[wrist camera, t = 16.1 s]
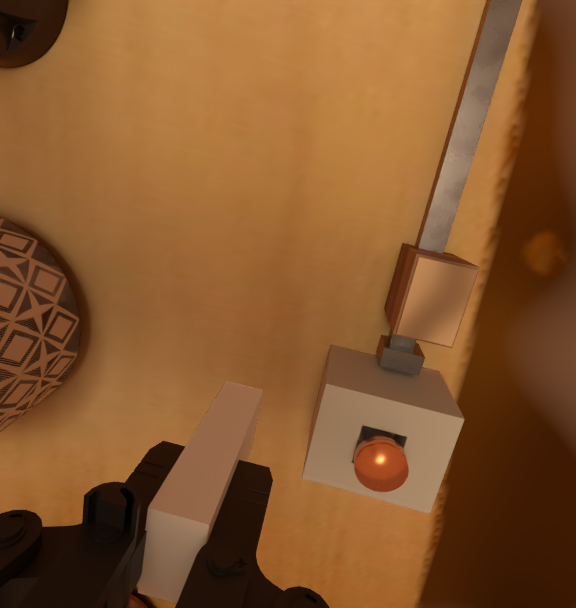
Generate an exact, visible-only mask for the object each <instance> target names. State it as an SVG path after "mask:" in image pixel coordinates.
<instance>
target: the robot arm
mask: <svg viewBox="0 0 576 608" xmlns="http://www.w3.org/2000/svg"><path fill="white" fill-rule="evenodd" d="M66 7H67V0H0V67H17V66H22V65H25V64H28V63H30V62H32V61H34V60H35V59H37V58H38V57H40V56H41V55H42V54H43V53H44V52H45V51H46V50H47V49H48V48H49V47H50V46H51V45H52V43H53V42H54V40H55V39H56V37H57V35H58V33H59V31H60V29H61V26H62V23H63V20H64V17H65V13H66ZM262 395H263V389H259V388H255V387H251V386H247V385H243V384H239V383H235V382H231V381H227V380H226V382H225V383H224V385H223V387H222V388H221V390H220V392H219V393H218V395H217V396H216V398H215V400H214V401H213V403H212V405H211V406H210V408H209V409H208V411H207V413H206V414H205V416H204V418H203V419H202V421H201V422H200V424H199V426H198V427H197V429H196V430H195V432H194V434H193V435H192V437H191V439H190V440H189V442H188V443H187V445H186V447H185V446H181V445H177V444H173V443H170V442H166V441H162V442H161V443H159V444H158V445H156V446H154V447H153V448H151V449H150V450H149V451H148V452H147V454H146V455H145V456H144V458H143V459H142V460H141V463H139V464H138V466H137V467H136V468H135V470H134V472H132V474H131V475H130V476H129V478H128V479H127V481H126V482H125V483H122V482H110V483H104V484H101V485H99V486H97V487H94V488H92V489H91V490H90V491H89V492H88V493H86V494H85V495H84V506H83V522H82V524H78V525H73V526H58V527H42V521H41V518H40V517H39V516H38V515H37V514H36V513H34V512H31V511H28V510H12V511H8V512H5V513H1V514H0V608H129V601H130V596H131V594H132V592H133V590H134V588H135V586H136V584H137V582H138V580H139V586H138V593H140V594H143V595H147V596H150V597H154V598H157V599H161V600H164V601H167V602H171V603H174V604H176V607H175V608H329V606H328V605H327V603H326V602H325V601H324V600H323V598H322V597H321V596H320V595H319V594H317V593H316V592H314V591H313V590H311V589H308V588H304V587H300V586H298V587H292V588H288V589H286V590H285V591H283V590H281V589H280V588H278V587H277V586H275V585H274V584H273V583H271V582H270V581H269V580H268V579H267V578H266V577H265V576H264V575H263V573H262V572H261V571H260V568H259V566H258V564H257V559H256V550H257V546H258V542H259V538H260V533H261V529H262V525H263V521H264V517H265V512H266V508H267V504H268V500H269V495H270V491H271V487H272V482H273V479H272V476H271V472H270V469H269V467H265V466H261V465H257V464H254V463H250V462H247V460H248V457H249V454H250V451H251V448H252V443H253V439H254V434H255V429H256V424H257V419H258V414H259V409H260V405H261V400H262Z"/></svg>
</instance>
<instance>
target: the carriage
mask: <svg viewBox="0 0 576 608" xmlns="http://www.w3.org/2000/svg"><path fill="white" fill-rule="evenodd" d="M479 268H480V267H478V266H476V265H474V264H472V263H469V262H467V261H465V260H463V259H461V258H459V257H457V256H455V255H453V254H450V253H445V252H444V253H438V252H434V251H429V250H425V249H420V248H416V247H414V246H412V245H409V244H404V243H403V244H402V248H401V252H400V255H399V259H398V262H397V266H396V269H395V273H394V276H393V280H392V283H391V287H390V290H389V294H388V298H387V301H386V305H385V311H386V314H387V317H388V320H389V323H390V326H391V329H392V332H393V334H396V335H400V336H404V337H408V338H412V339H416V340H421V341H425V342H429V343H433V344H437V345H441V346H445V347H450V348H452V347H453V344H454V341H455V338H456V336H457V333H458V330H459V327H460V324H461V321H462V318H463V315H464V312H465V309H466V306H467V303H468V300H469V297H470V294H471V291H472V289H473V286H474V283H475V280H476V277H477V274H478V271H479Z"/></svg>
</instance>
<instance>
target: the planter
mask: <svg viewBox="0 0 576 608" xmlns="http://www.w3.org/2000/svg"><path fill="white" fill-rule="evenodd" d="M79 343H80V318H79V312H78V307H77V303H76V300H75V297H74V294H73V291H72V289H71V286H70V284H69V282H68V280H67V278H66V276H65V274H64V272H63V271H62V269H61V268H60V266H59V265H58V263H57V262H56V260H55V259H54V258H53V256H52V255H51V254H50V253H49V252H48V251H47V250H46V248H45V247H44V246H43V245H42V244H41V243H39V242H38V241H37V240H36V239H35V238H34V237H32V236H31V235H30V234H29V233H27V232H26V231H24V230H23V229H21V228H20V227H18V226H16V225H14V224H13V223H11V222H9V221H6V220H4V219H2V218H0V432H1V431H2V430H3V429H5V428H6V427H7V426H9V425H10V424H11V423H13V422H14V421H15V420H17V419H18V418H19V417H21V416H22V415H23V414H25V413H26V412H27V411H29V410H30V409H31V408H33V407H34V406H35V405H37V404H38V403H39V402H41V401H42V400H43V399H45V398H46V397H47V396H49V395H50V394H51V393H53V392H54V391H55V390H56V389H57V388H58V387H59V386H60V385H61V384H62V383H63V381H64V380H65V379H66V378H67V376H68V374H69V373H70V371H71V369H72V367H73V365H74V362H75V360H76V357H77V353H78V349H79Z"/></svg>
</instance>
